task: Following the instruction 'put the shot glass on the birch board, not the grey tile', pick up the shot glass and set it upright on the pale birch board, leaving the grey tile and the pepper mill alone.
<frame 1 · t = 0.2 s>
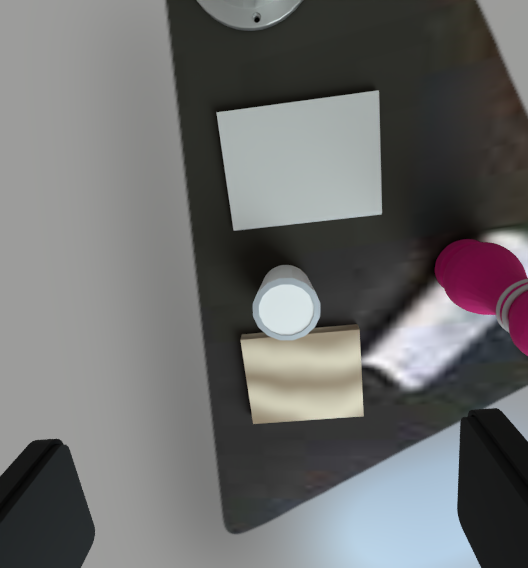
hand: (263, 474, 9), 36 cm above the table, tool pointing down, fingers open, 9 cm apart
birch board: (303, 372, 49), on the table
pepper mill: (461, 265, 44), on the table
shot glass: (285, 287, 46), on the table
grey tile: (301, 164, 41), on the table
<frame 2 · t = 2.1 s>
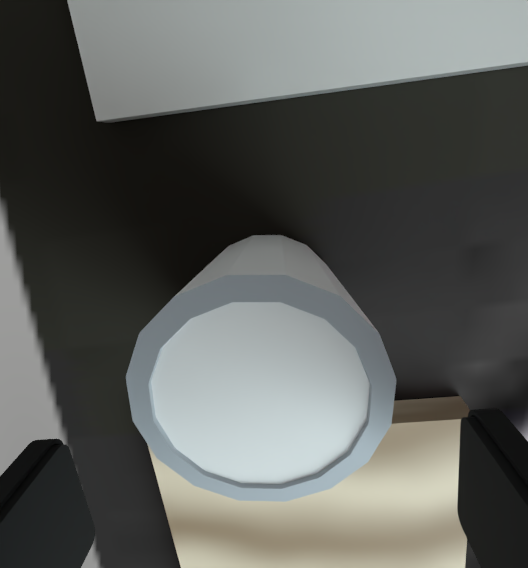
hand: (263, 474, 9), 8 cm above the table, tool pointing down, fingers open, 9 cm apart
birch board: (313, 504, 20), on the table
shot glass: (268, 298, 17), on the table
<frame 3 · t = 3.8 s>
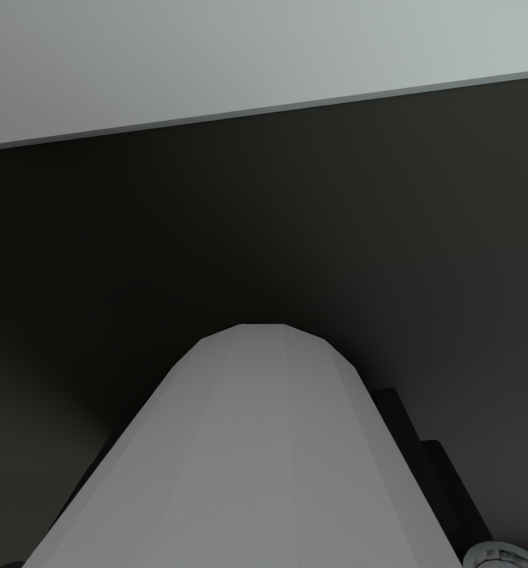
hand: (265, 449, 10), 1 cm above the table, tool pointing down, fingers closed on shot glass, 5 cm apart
shot glass: (264, 413, 11), on the table, touching gripper
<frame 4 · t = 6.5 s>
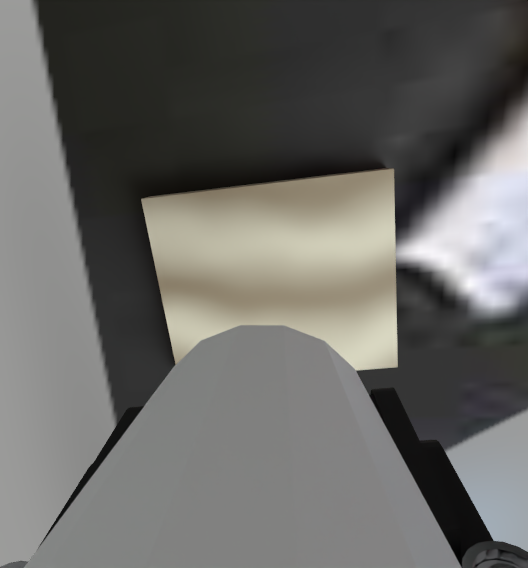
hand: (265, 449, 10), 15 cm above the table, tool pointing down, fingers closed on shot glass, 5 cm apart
birch board: (276, 279, 25), on the table
shot glass: (264, 414, 11), point 14 cm above the table, touching gripper
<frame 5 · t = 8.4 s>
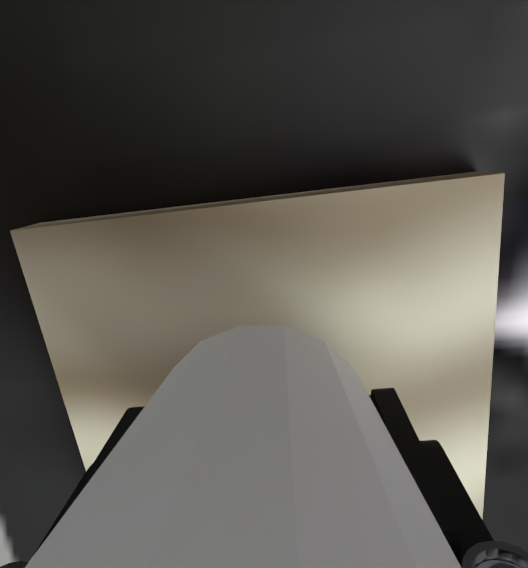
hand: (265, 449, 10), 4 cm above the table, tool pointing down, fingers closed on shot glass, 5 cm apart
birch board: (270, 365, 14), on the table
shot glass: (264, 415, 11), point 3 cm above the table, touching gripper
when the fingers open (3 cm above the table, at t = 9.5 s): shot glass drops 1 cm, resting on birch board.
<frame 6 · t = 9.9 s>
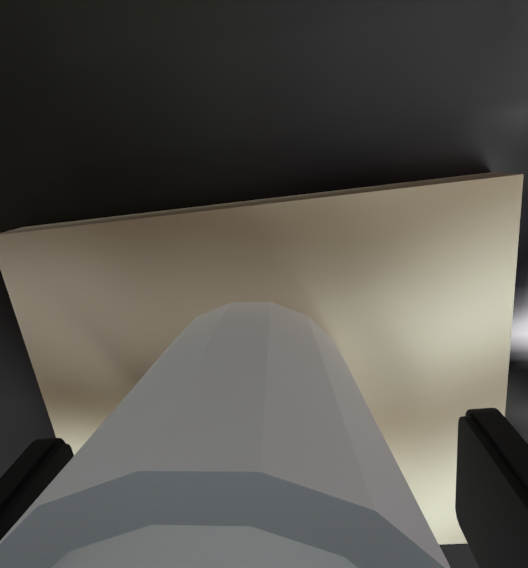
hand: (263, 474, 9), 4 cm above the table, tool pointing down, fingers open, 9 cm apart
birch board: (269, 378, 13), on the table
shot glass: (255, 384, 12), point 1 cm above the table, touching birch board
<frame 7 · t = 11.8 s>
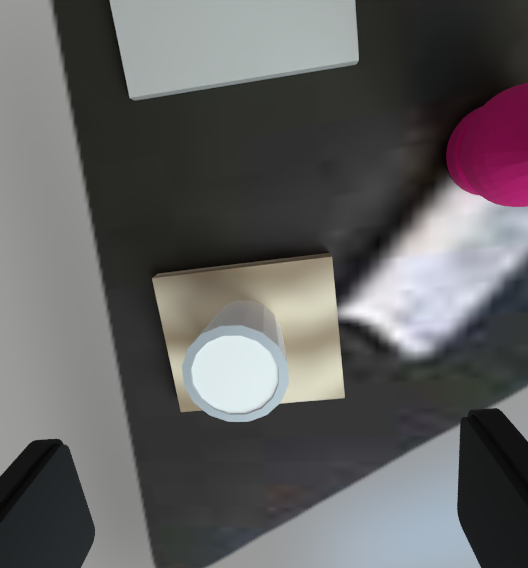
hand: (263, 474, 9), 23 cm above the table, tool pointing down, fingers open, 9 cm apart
birch board: (252, 332, 33), on the table
pepper mill: (488, 151, 28), on the table
shot glass: (246, 332, 32), point 1 cm above the table, touching birch board
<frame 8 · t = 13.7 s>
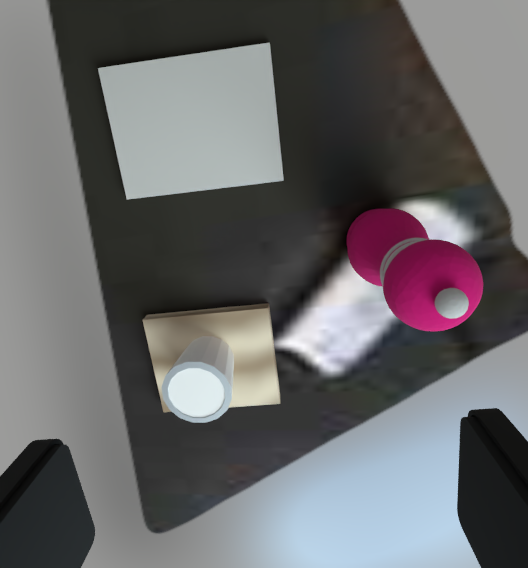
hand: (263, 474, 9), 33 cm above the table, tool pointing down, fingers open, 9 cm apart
birch board: (215, 356, 46), on the table
pepper mill: (376, 238, 41), on the table
shot glass: (209, 357, 44), point 1 cm above the table, touching birch board
grey tile: (195, 126, 38), on the table
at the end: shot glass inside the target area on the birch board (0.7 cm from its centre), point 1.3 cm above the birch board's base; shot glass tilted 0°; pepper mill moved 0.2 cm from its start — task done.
